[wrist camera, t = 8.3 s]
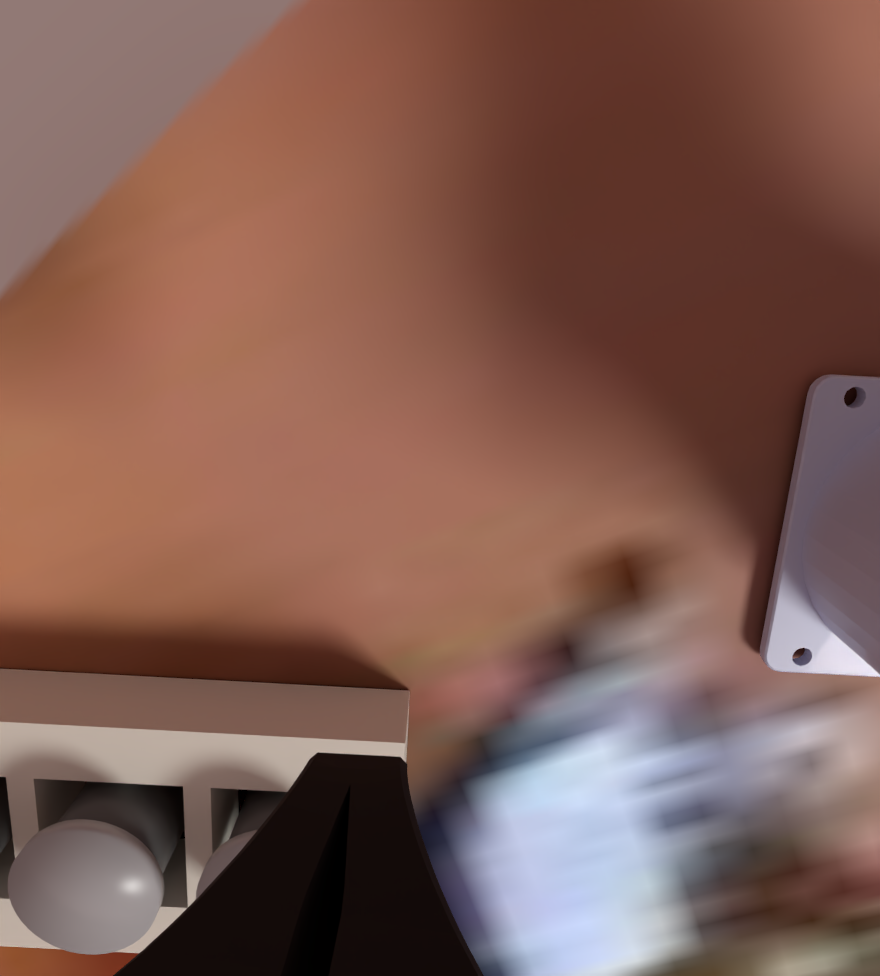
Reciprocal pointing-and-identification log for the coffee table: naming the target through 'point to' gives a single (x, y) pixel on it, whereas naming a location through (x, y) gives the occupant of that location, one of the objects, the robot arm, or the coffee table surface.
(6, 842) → the knob
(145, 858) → the knob middle
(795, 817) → the coffee table surface
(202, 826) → the knob board
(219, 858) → the knob
